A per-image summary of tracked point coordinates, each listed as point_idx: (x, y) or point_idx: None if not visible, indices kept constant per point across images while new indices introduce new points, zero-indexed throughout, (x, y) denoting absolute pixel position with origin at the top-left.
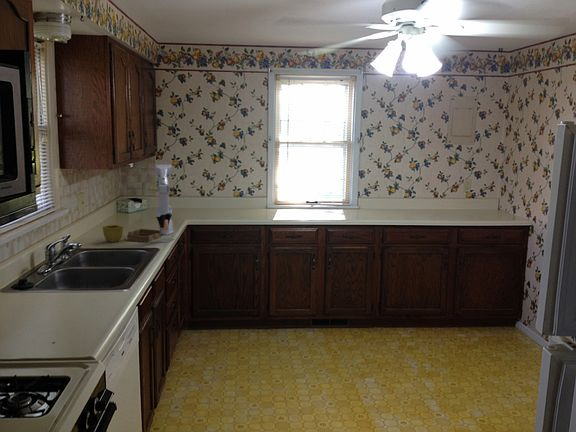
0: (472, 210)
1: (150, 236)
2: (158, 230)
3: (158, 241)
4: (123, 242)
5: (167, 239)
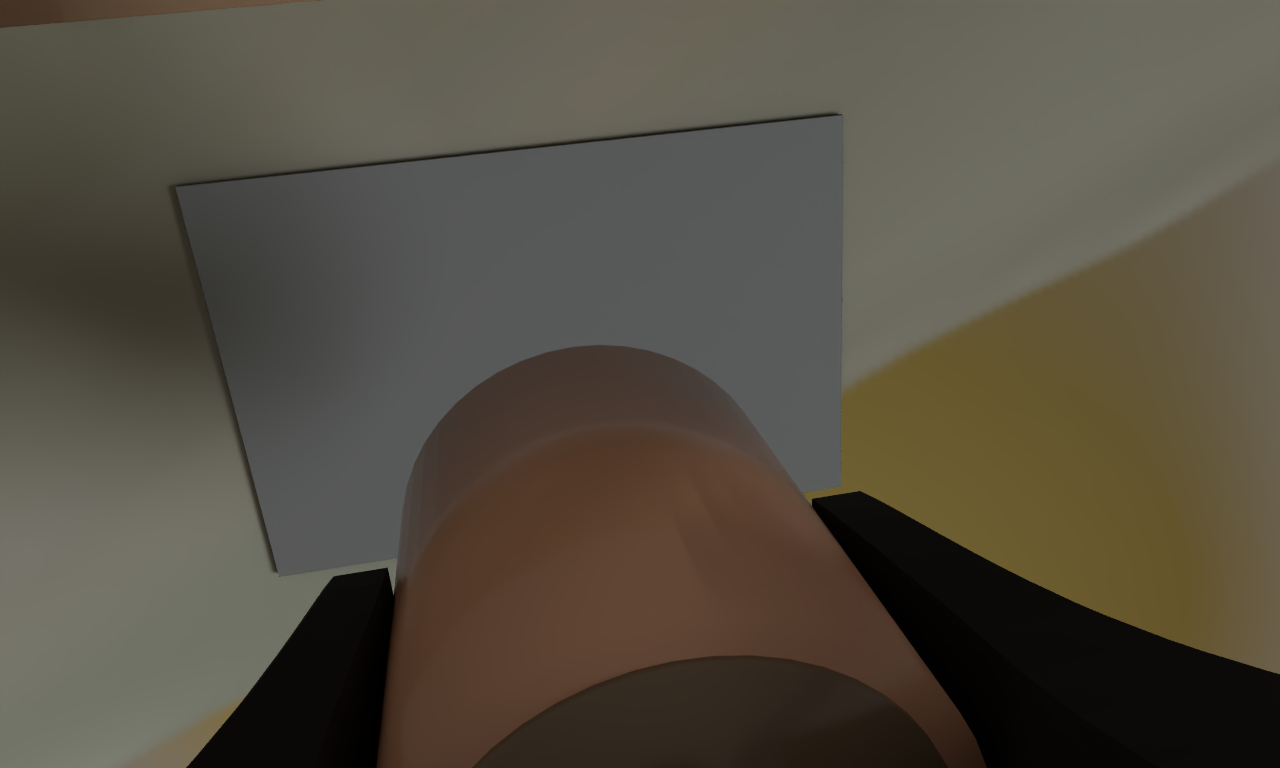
0: None
1: (172, 12)
2: None
3: (312, 299)
4: None
5: (696, 348)
